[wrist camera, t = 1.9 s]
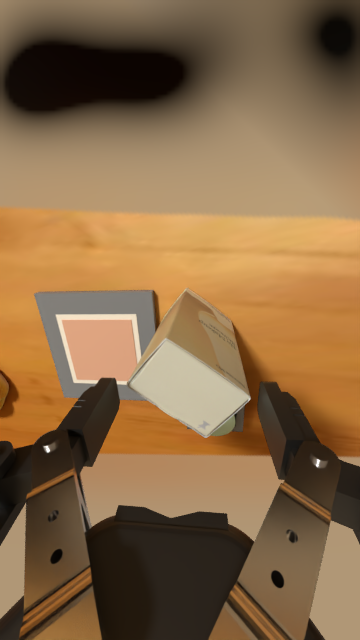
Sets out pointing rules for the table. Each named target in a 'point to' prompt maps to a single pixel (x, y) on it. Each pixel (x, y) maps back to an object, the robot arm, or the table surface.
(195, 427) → the skincare box
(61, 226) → the table surface
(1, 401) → the bread roll
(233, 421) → the button
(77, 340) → the picture board
